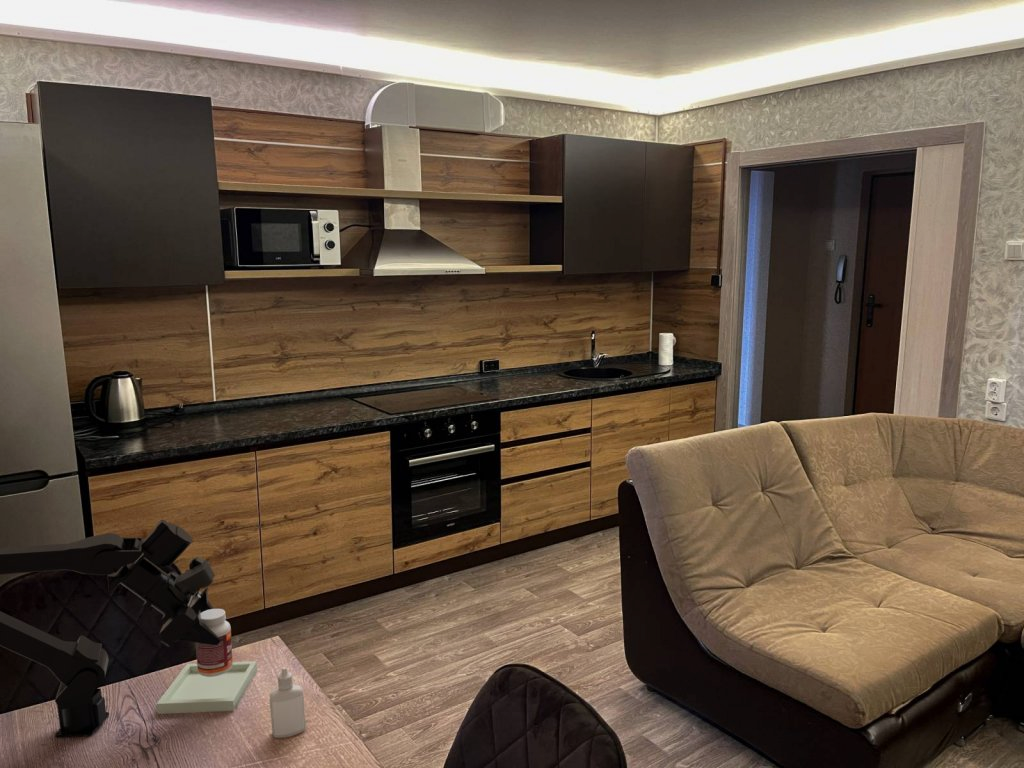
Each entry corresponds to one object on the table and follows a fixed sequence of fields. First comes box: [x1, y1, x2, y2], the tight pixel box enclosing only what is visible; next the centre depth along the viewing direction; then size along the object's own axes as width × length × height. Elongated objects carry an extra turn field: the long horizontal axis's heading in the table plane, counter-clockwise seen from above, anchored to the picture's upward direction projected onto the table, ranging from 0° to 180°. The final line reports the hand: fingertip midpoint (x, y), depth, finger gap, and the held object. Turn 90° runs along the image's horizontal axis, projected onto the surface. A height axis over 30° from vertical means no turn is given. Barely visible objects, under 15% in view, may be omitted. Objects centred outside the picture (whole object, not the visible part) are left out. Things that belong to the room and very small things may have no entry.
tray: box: [156, 660, 259, 715], centre depth 144 cm, size 14×14×2 cm
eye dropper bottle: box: [269, 666, 307, 739], centre depth 130 cm, size 4×6×12 cm
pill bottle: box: [195, 608, 234, 677], centre depth 139 cm, size 6×6×11 cm
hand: (221, 634), depth 140 cm, fingers closed on pill bottle, 6 cm apart
